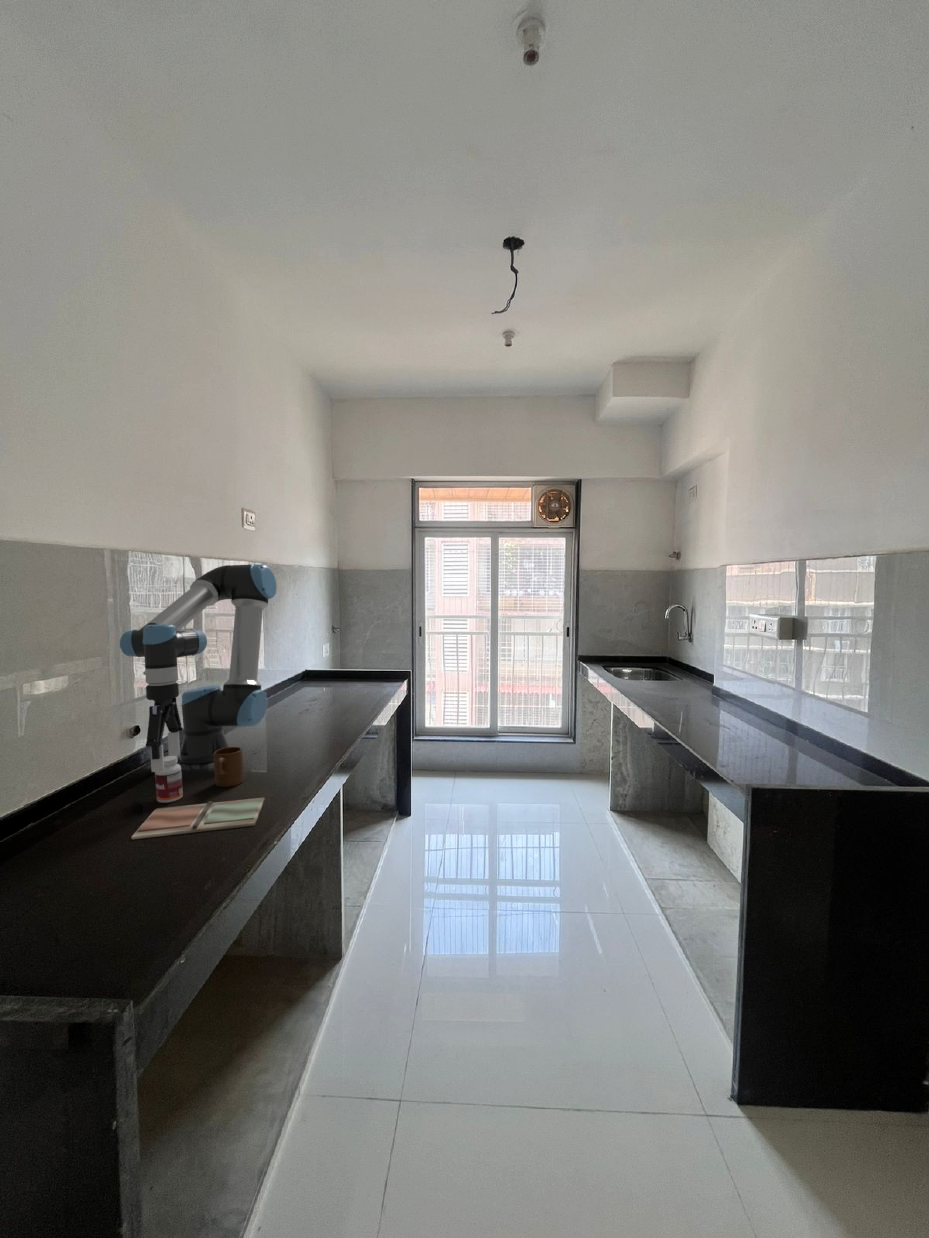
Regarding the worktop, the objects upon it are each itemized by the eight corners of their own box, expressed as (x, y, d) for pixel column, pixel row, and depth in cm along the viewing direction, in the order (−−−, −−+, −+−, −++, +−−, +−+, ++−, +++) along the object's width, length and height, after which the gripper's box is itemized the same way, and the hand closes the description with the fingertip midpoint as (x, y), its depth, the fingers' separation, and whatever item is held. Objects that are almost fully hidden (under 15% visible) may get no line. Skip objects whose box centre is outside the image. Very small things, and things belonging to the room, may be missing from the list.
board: (155, 811, 140) (155, 805, 140) (264, 799, 145) (264, 794, 145) (131, 839, 124) (131, 833, 124) (254, 825, 129) (254, 819, 129)
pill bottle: (152, 799, 147) (150, 759, 147) (177, 792, 152) (174, 753, 151) (162, 805, 143) (159, 763, 143) (187, 797, 148) (184, 757, 147)
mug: (233, 793, 150) (231, 758, 150) (204, 794, 150) (202, 760, 149) (247, 777, 162) (246, 746, 162) (221, 779, 162) (219, 747, 161)
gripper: (162, 677, 157) (166, 751, 158) (127, 692, 133) (133, 779, 134) (190, 675, 159) (194, 749, 160) (162, 690, 134) (166, 776, 135)
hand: (166, 763), depth 147 cm, fingers open, 13 cm apart
